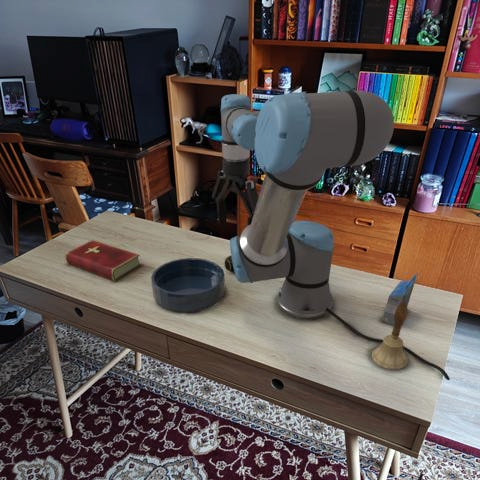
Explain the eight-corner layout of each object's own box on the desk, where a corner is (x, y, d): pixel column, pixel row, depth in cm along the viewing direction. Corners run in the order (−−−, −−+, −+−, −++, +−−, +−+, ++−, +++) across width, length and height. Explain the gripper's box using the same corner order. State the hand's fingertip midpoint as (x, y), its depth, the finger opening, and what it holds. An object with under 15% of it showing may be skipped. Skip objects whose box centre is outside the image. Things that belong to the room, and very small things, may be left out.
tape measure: (250, 271, 139) (250, 260, 137) (231, 276, 136) (230, 266, 134) (239, 262, 144) (239, 252, 142) (221, 267, 141) (220, 256, 139)
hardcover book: (114, 282, 134) (111, 269, 132) (67, 264, 143) (64, 252, 141) (141, 265, 142) (139, 253, 140) (95, 250, 151) (92, 238, 149)
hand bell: (372, 344, 109) (384, 289, 100) (407, 350, 107) (423, 295, 98) (370, 366, 103) (383, 309, 94) (407, 373, 101) (424, 316, 92)
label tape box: (393, 306, 123) (402, 267, 116) (407, 311, 121) (418, 271, 114) (381, 321, 117) (390, 281, 110) (396, 326, 115) (407, 286, 108)
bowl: (239, 294, 128) (239, 277, 125) (180, 322, 117) (178, 303, 114) (197, 268, 141) (195, 251, 137) (140, 291, 130) (137, 273, 126)
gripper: (278, 166, 115) (274, 240, 128) (218, 146, 130) (220, 214, 143) (256, 172, 111) (255, 248, 124) (197, 150, 126) (201, 220, 139)
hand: (236, 230), depth 133 cm, fingers open, 13 cm apart
